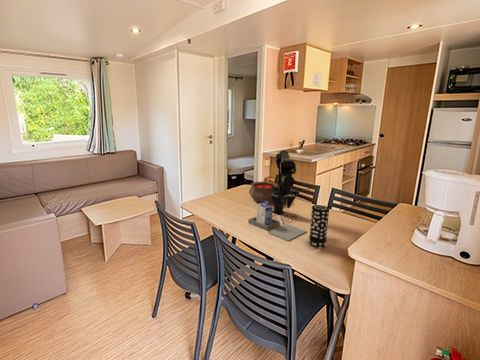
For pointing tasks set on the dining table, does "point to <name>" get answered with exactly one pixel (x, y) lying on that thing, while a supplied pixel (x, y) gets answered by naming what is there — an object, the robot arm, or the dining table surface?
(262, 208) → the ink cartridge box
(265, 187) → the dark brown bowl
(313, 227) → the spotted tube
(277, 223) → the grey rectangular frame
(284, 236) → the mat
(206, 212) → the dining table surface
